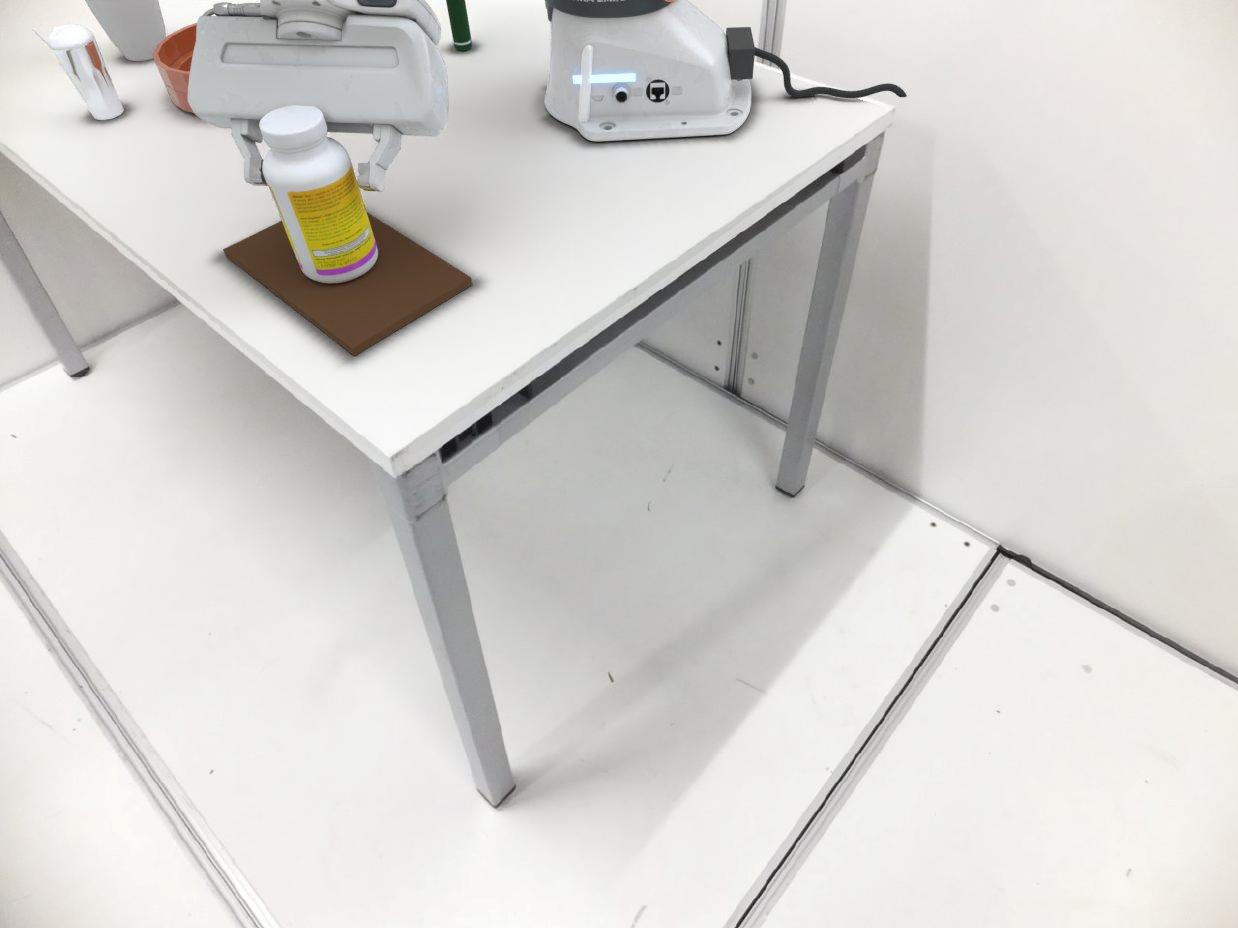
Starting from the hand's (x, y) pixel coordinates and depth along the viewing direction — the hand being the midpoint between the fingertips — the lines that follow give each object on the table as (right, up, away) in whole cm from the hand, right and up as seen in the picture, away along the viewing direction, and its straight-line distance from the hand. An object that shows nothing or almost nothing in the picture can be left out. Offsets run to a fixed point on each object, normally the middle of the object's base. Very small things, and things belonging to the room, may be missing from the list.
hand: (314, 187), depth 65 cm
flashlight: (+5, +29, +36) cm, 46 cm away
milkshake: (-34, +17, +28) cm, 47 cm away
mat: (0, -5, +7) cm, 8 cm away
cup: (-35, +30, +38) cm, 60 cm away
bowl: (-19, +22, +31) cm, 43 cm away
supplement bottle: (0, -5, +6) cm, 8 cm away
